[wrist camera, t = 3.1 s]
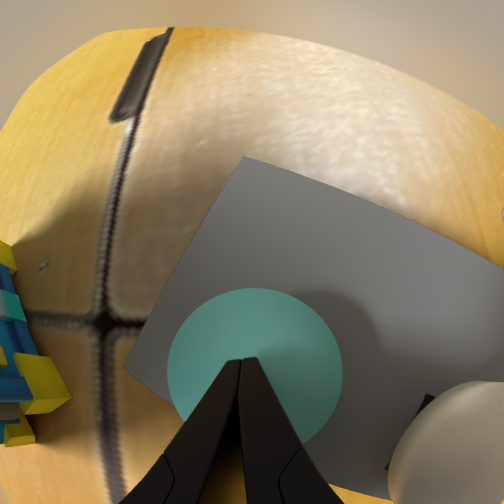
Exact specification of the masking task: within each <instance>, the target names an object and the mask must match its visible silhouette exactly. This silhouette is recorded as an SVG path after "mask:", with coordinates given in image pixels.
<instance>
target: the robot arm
mask: <svg viewBox="0 0 504 504" xmlns="http://www.w3.org/2000/svg"><path fill="white" fill-rule="evenodd" d="M118 504H344V502H343V501H342V500H341V499H340V498H339V497H338V496H337V494H336V493H335V492H334V491H333V490H332V488H331V487H330V486H329V485H328V483H327V482H326V481H325V479H324V478H323V477H322V475H321V474H320V473H319V471H318V469H317V468H316V466H315V465H314V463H313V461H312V460H311V458H310V456H309V455H308V453H307V451H306V449H305V447H303V444H302V442H301V440H300V439H299V437H298V435H297V433H296V431H295V429H294V427H293V426H292V424H291V422H290V420H289V418H288V416H287V414H286V412H285V411H284V409H283V407H282V405H281V403H280V401H279V399H278V397H277V395H276V393H275V391H274V390H273V388H272V386H271V384H270V382H269V380H268V378H267V376H266V374H265V372H264V370H263V368H262V366H261V364H260V362H259V360H258V358H257V357H256V356H253V357H247V358H243V359H233V360H228V361H226V363H225V364H224V366H223V367H222V369H221V370H220V372H219V373H218V375H217V376H216V378H215V379H214V381H213V382H212V383H211V385H210V386H209V388H208V389H207V391H206V392H205V394H204V395H203V397H202V398H201V400H200V401H199V402H198V404H197V405H196V407H195V408H194V410H193V411H192V413H191V414H190V415H189V417H188V418H187V420H186V421H185V423H184V424H183V425H182V427H181V428H180V430H179V431H178V432H177V434H176V435H175V437H174V438H173V439H172V441H171V442H170V444H169V445H168V446H167V448H166V449H165V450H164V454H161V456H160V457H159V458H158V460H157V461H156V463H155V464H154V465H153V466H152V468H151V469H150V470H149V471H148V473H147V474H146V475H145V476H144V478H143V479H142V480H141V481H140V482H139V483H138V484H137V485H136V486H135V487H134V488H133V490H132V491H131V492H130V493H129V494H128V495H127V496H126V497H125V498H124V499H122V500H121V501H120V502H119V503H118Z"/></svg>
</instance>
